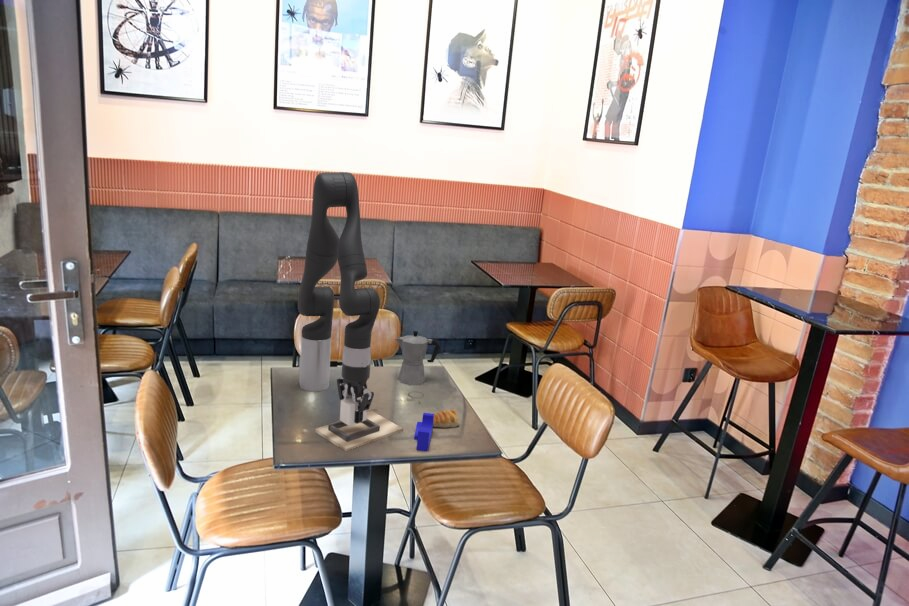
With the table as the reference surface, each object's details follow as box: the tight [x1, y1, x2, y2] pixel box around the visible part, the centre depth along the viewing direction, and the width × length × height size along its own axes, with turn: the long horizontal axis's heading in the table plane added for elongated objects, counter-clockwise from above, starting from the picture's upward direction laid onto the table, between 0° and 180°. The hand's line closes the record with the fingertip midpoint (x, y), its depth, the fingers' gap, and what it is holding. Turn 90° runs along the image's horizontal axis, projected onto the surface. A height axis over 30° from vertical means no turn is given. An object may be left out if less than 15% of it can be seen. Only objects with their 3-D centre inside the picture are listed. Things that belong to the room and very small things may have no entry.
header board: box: [314, 410, 404, 452], centre depth 175 cm, size 14×20×2 cm
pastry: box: [433, 409, 460, 429], centre depth 184 cm, size 9×7×4 cm
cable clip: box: [413, 412, 434, 452], centre depth 173 cm, size 12×4×6 cm, turn 176°
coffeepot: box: [395, 330, 441, 386], centre depth 213 cm, size 15×9×18 cm, turn 87°
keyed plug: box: [339, 397, 368, 426], centre depth 172 cm, size 4×7×6 cm, turn 136°
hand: (353, 419), depth 172 cm, fingers closed on keyed plug, 4 cm apart
